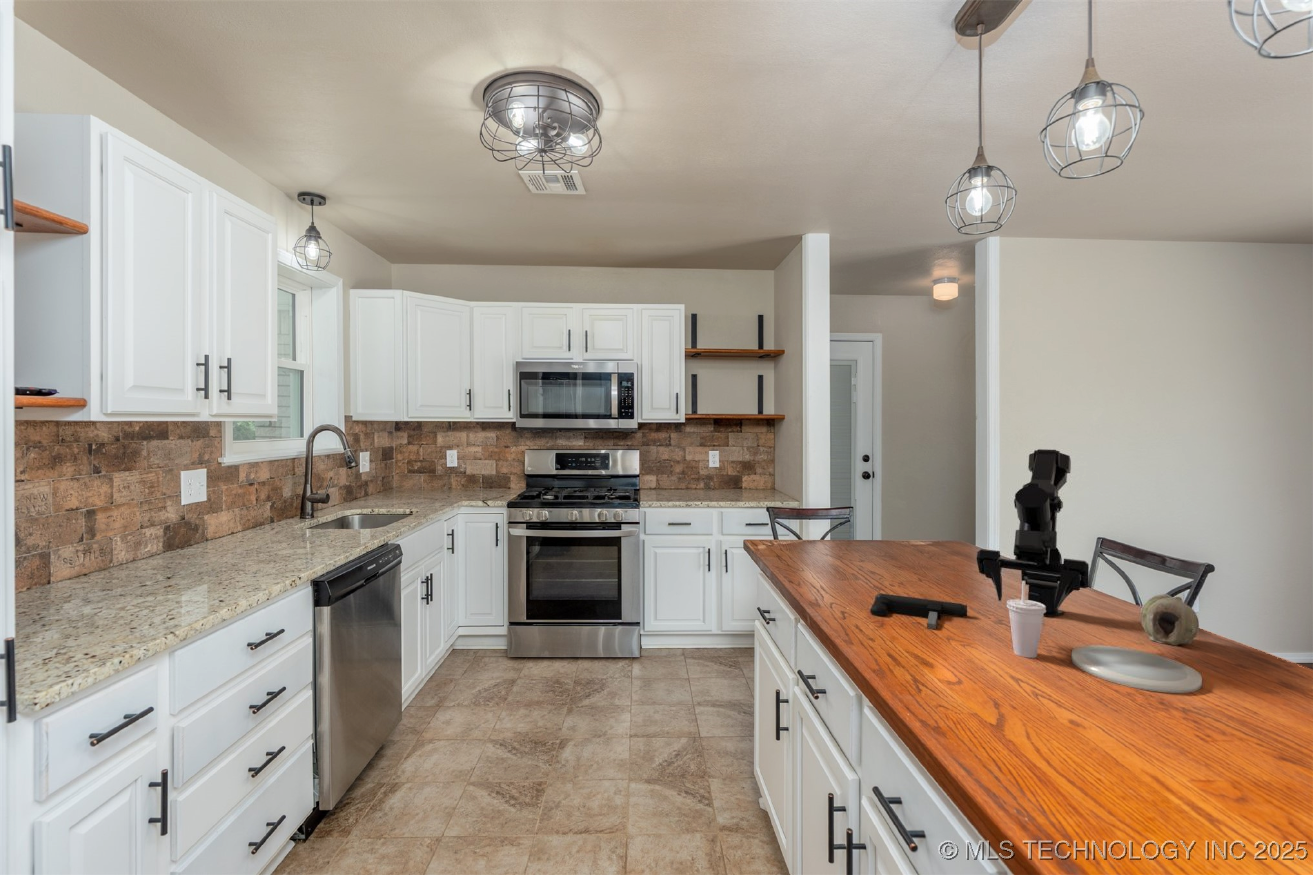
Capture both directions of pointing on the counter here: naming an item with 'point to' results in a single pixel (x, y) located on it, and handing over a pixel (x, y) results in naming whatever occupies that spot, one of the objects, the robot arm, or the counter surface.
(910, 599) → the door handle
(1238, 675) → the counter surface
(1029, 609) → the smoothie
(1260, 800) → the counter surface
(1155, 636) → the olive hollow round lump
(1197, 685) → the plate
